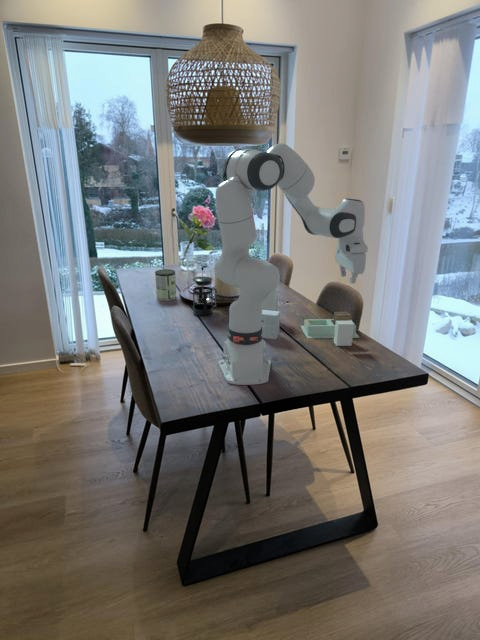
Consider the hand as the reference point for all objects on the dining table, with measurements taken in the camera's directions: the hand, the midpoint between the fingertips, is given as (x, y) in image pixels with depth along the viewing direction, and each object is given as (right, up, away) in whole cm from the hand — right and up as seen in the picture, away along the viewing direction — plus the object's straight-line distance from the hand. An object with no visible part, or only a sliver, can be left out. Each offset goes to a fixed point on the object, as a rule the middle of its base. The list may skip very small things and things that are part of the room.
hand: (347, 279), depth 167 cm
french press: (-58, -13, +40) cm, 72 cm away
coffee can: (-80, -4, +62) cm, 101 cm away
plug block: (-1, -26, +6) cm, 27 cm away
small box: (-29, -22, +15) cm, 40 cm away
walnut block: (+1, -20, +18) cm, 27 cm away
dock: (-4, -21, +18) cm, 28 cm away
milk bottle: (-29, -16, +32) cm, 45 cm away
